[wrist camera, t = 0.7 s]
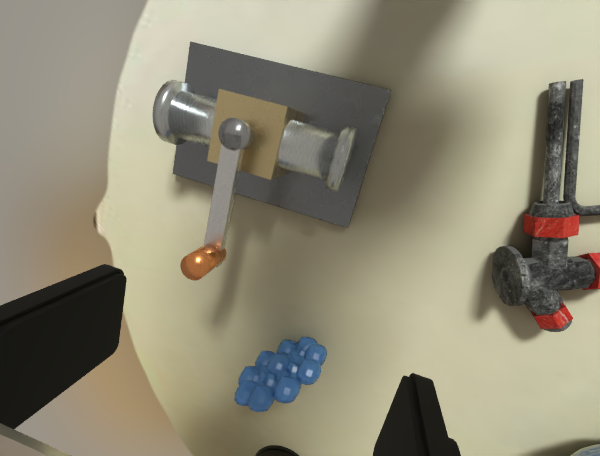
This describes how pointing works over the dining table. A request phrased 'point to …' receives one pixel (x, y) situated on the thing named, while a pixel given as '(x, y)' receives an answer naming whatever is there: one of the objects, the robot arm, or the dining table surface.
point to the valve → (551, 228)
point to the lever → (221, 198)
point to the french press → (276, 451)
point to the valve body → (274, 129)
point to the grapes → (280, 374)
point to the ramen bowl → (588, 451)
